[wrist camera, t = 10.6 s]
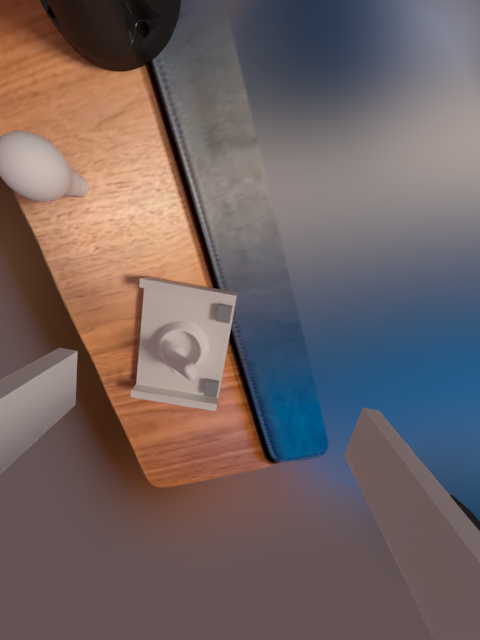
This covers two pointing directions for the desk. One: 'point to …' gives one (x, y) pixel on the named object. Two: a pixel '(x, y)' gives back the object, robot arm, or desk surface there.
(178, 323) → the hook
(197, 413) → the desk surface
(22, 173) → the lightbulb
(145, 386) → the panel
